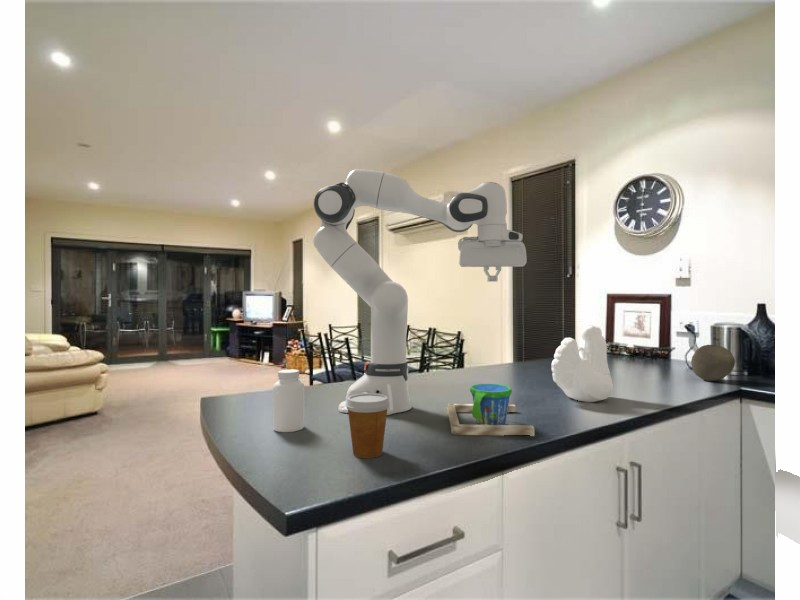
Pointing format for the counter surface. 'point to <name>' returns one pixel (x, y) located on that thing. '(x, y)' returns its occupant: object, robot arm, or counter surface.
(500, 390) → the snack cup
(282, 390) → the pill bottle
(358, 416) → the disposable coffee cup
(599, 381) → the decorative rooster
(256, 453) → the counter surface
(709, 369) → the cantaloupe
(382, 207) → the robot arm
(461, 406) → the wooden frame
